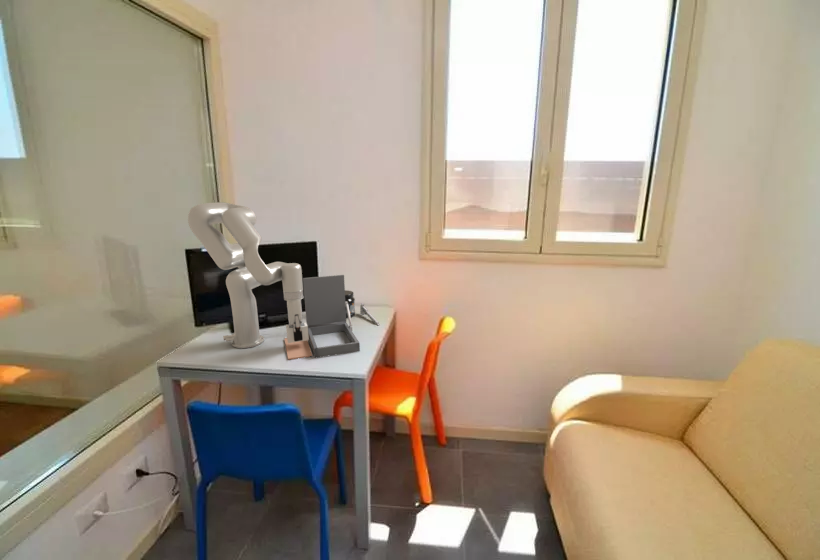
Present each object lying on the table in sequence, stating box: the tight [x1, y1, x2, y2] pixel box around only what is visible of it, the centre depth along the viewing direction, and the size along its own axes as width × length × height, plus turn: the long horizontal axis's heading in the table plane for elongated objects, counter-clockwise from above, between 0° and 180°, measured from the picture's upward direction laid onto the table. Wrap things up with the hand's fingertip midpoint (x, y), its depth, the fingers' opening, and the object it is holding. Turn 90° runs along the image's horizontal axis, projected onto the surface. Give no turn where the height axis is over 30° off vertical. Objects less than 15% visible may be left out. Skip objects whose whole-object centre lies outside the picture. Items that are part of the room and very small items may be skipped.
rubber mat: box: [283, 337, 313, 361], centre depth 162 cm, size 9×22×1 cm, turn 20°
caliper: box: [359, 303, 381, 326], centre depth 195 cm, size 20×1×6 cm, turn 31°
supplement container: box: [345, 289, 356, 319], centre depth 200 cm, size 10×10×12 cm
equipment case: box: [302, 274, 361, 359], centre depth 165 cm, size 19×26×26 cm
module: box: [285, 322, 309, 343], centre depth 161 cm, size 8×5×6 cm, turn 110°
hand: (297, 337), depth 161 cm, fingers closed on module, 5 cm apart
